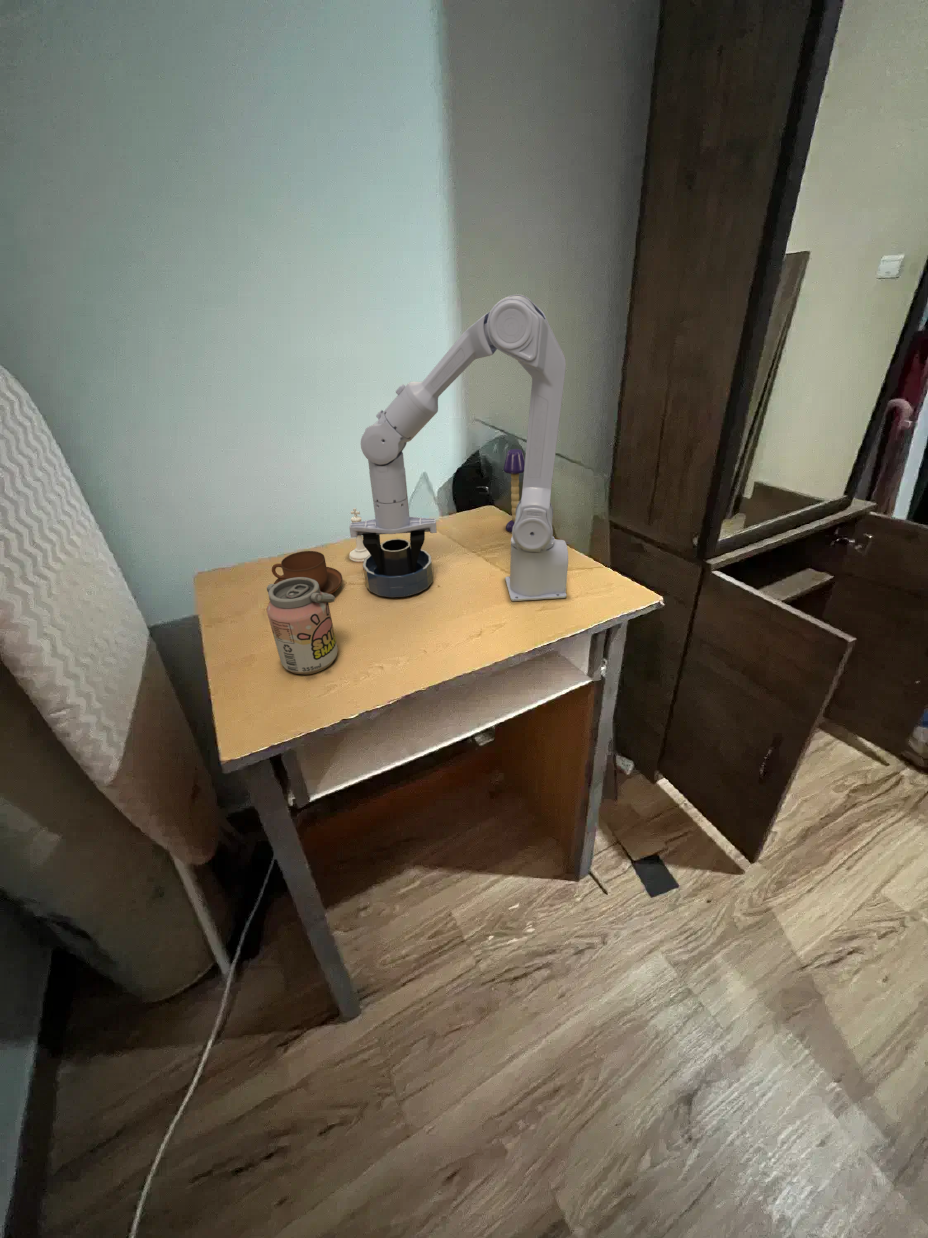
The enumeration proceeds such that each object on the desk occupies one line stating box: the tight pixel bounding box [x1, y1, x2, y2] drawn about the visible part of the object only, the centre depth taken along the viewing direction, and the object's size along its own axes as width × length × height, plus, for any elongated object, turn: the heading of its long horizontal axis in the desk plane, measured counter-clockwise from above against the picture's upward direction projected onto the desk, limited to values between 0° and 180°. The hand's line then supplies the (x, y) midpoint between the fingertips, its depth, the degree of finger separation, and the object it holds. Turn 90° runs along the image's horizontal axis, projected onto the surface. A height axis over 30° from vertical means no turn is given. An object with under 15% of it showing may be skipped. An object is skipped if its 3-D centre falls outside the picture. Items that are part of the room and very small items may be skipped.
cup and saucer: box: [271, 550, 343, 595], centre depth 92 cm, size 12×12×6 cm
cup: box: [380, 538, 412, 576], centre depth 93 cm, size 5×5×7 cm
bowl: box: [362, 548, 434, 598], centre depth 94 cm, size 12×12×4 cm
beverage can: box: [266, 577, 339, 676], centre depth 74 cm, size 9×8×12 cm
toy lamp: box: [503, 448, 525, 533], centre depth 110 cm, size 5×5×17 cm
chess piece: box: [348, 507, 370, 563], centre depth 102 cm, size 5×5×10 cm
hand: (398, 570), depth 94 cm, fingers closed on cup, 5 cm apart
